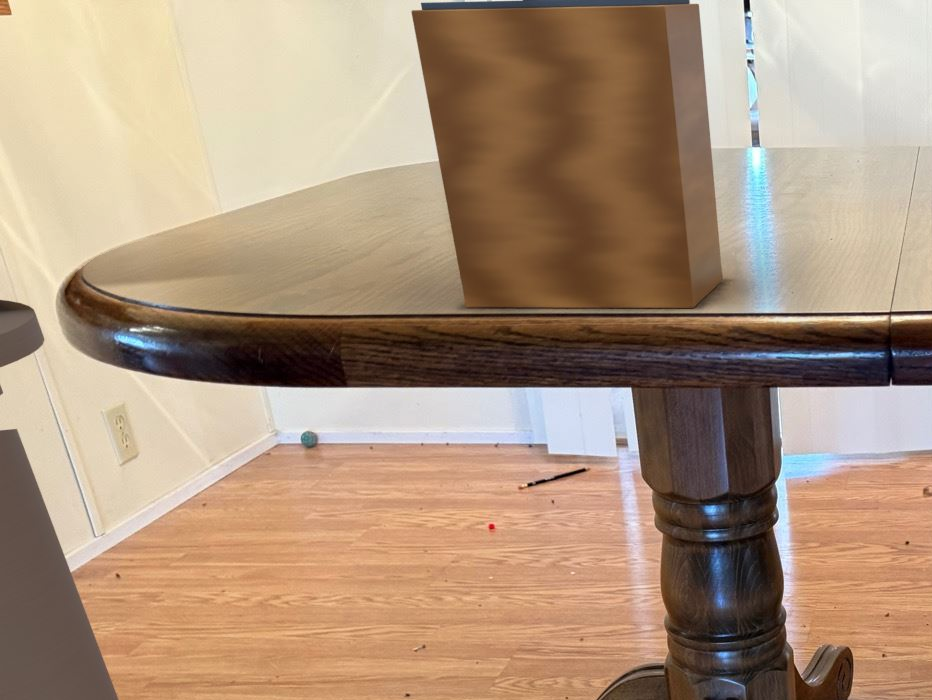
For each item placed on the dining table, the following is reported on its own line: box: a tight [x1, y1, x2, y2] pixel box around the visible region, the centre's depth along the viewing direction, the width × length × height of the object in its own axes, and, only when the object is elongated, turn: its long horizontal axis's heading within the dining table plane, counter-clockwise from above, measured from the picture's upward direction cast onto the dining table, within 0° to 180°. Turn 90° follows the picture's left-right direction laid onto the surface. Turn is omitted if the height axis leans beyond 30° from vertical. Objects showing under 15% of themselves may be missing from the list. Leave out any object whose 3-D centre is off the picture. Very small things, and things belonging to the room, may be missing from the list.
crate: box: [410, 3, 723, 309], centre depth 84 cm, size 16×9×18 cm, turn 85°
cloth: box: [420, 0, 691, 10], centre depth 79 cm, size 15×8×1 cm, turn 85°
